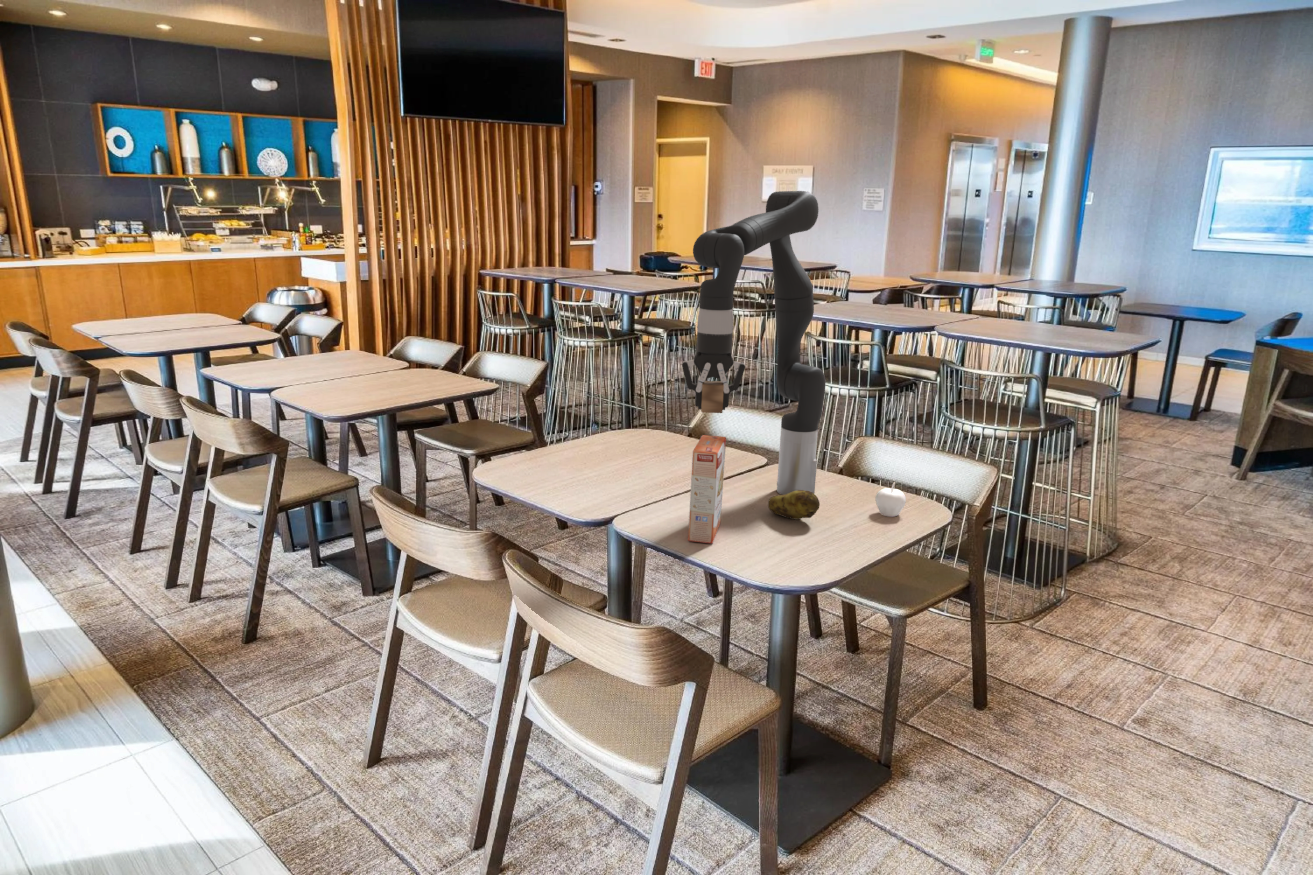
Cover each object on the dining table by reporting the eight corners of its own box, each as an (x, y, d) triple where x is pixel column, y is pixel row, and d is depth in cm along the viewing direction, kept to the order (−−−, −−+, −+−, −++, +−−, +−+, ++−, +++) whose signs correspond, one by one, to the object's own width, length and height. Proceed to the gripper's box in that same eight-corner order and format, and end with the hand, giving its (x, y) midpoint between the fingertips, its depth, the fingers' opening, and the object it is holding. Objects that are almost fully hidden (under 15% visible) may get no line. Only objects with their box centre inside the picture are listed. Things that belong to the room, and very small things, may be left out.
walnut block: (721, 408, 190) (722, 381, 188) (722, 413, 185) (723, 385, 184) (700, 407, 190) (701, 380, 188) (701, 412, 186) (702, 385, 184)
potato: (792, 508, 212) (794, 477, 210) (823, 526, 201) (826, 493, 199) (763, 512, 208) (765, 481, 206) (793, 531, 197) (795, 498, 195)
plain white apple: (910, 516, 209) (914, 484, 207) (889, 521, 205) (892, 489, 203) (889, 507, 215) (892, 476, 213) (868, 512, 211) (871, 480, 209)
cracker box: (714, 545, 188) (719, 452, 182) (687, 542, 189) (690, 450, 184) (722, 522, 201) (727, 435, 196) (697, 520, 202) (700, 433, 197)
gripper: (747, 328, 187) (743, 406, 191) (681, 326, 187) (678, 404, 191) (750, 333, 179) (745, 414, 184) (681, 331, 180) (678, 412, 184)
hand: (711, 408), depth 188 cm, fingers closed on walnut block, 4 cm apart
